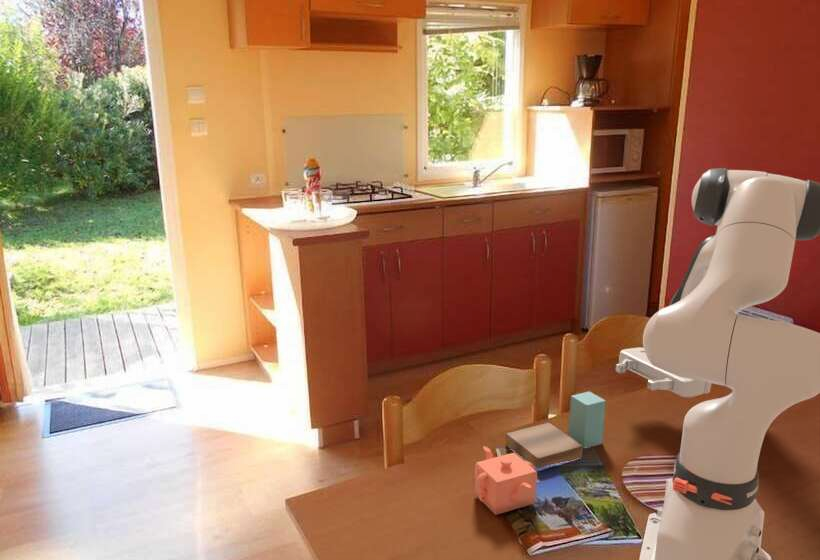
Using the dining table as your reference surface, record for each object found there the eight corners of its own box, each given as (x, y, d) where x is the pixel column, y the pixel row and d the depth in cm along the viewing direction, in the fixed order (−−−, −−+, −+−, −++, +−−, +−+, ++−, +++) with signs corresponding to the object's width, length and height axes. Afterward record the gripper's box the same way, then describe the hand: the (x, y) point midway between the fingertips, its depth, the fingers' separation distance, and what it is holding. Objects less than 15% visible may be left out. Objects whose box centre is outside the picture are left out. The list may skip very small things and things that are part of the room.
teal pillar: (602, 443, 137) (605, 400, 134) (583, 449, 134) (586, 405, 132) (586, 433, 141) (589, 391, 138) (568, 438, 139) (571, 395, 136)
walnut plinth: (581, 459, 131) (582, 445, 130) (537, 472, 126) (538, 458, 125) (548, 435, 140) (548, 422, 139) (505, 446, 136) (506, 433, 135)
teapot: (499, 534, 108) (500, 490, 106) (455, 487, 121) (456, 448, 119) (556, 516, 113) (559, 473, 110) (509, 473, 126) (510, 434, 124)
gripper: (646, 337, 154) (601, 347, 148) (719, 368, 136) (671, 381, 130) (644, 362, 156) (599, 372, 150) (715, 396, 138) (668, 409, 132)
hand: (633, 377), depth 140 cm, fingers open, 8 cm apart
